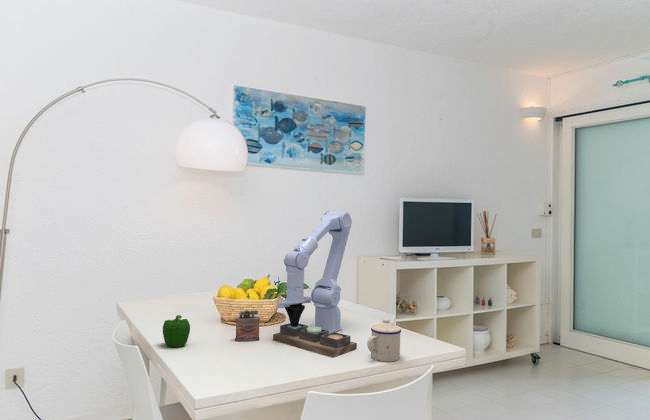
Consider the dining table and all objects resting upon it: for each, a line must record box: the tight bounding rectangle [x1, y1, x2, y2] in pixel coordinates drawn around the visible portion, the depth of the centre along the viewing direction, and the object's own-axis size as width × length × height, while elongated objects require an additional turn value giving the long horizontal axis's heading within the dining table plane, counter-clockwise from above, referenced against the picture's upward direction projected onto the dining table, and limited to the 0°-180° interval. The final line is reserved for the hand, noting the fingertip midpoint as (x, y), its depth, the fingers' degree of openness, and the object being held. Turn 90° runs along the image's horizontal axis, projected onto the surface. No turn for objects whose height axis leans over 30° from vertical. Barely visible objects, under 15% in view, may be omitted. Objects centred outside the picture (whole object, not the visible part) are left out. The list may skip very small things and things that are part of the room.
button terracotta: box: [328, 335, 343, 339], centre depth 150 cm, size 5×5×2 cm
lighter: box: [234, 309, 261, 343], centre depth 159 cm, size 8×3×10 cm, turn 105°
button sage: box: [307, 325, 321, 334], centre depth 156 cm, size 5×5×2 cm
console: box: [272, 322, 358, 358], centre depth 156 cm, size 12×26×5 cm, turn 50°
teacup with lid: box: [366, 318, 402, 363], centre depth 144 cm, size 12×9×12 cm
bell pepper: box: [162, 314, 191, 348], centre depth 151 cm, size 8×8×10 cm
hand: (294, 326), depth 162 cm, fingers closed, pressing on button slate
